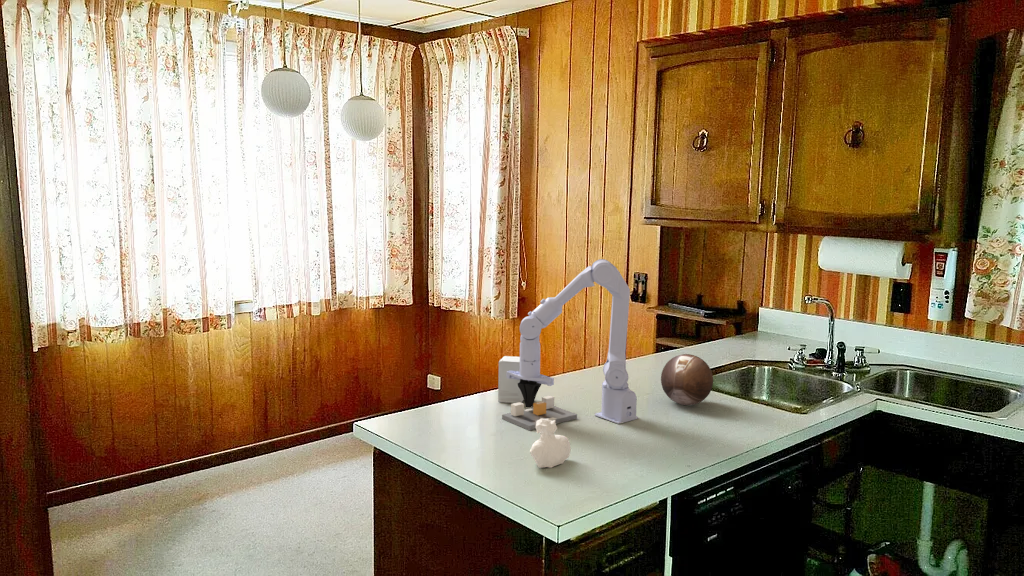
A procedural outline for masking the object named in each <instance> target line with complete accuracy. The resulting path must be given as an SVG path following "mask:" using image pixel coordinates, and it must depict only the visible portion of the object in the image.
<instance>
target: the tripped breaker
mask: <svg viewBox="0 0 1024 576" xmlns="http://www.w3.org/2000/svg"><path fill="white" fill-rule="evenodd" d="M532 408H533V414H535V415H542V414H546V403H545V402H542V400H541V401H536V402H534V403H533V407H532Z"/></svg>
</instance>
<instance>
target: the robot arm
mask: <svg viewBox="0 0 1024 576" xmlns="http://www.w3.org/2000/svg"><path fill="white" fill-rule="evenodd" d="M594 282H595V283H596V284H597V285H598V286H600V287H602V288H605V289H606V290H607V291H608V293H610V294H611V295H612V297H611V298H612V299H611V310H610V311H611V312H610V326H609V339H608V340H609V341H608V351H607V358H606V361H605V363H604V364H603V368H602V371H603V375H604V378H605V379H604V380H603V382H602V384H601V411H600V412H596V413H594V416H595V417H598V418H601V419H604V420H607V421H610V422H612V423H615V424H619V425H620V424H623V423H627V422H631V421H634V420H637V419H639V416H637V404H638V403H637V401H638V400H637V399H638V398H637V394H636V392H635V391H633V390H632V389H631V388H630V387H629V382H628V380H629V373H628V371H627V359H626V350H627V336H628V322H629V310H630V308H629V307H630V295H631V290H630V287H629V285H628V284H627V282H626V280H625V279H624V277H623V276H622V274H621V273H620V271H619V270H618V268H617V267H616V266H615V265H614V264H613V263H611V262H610V261H609V260H607V259H603V258H602V259H597V260H595V261H594V262H593V263H592V265H588V266H587V267H585V269H583V270H582V271H581V272H579V273H578V274H577V275H576V276H575V277H574V278H573V279H572V280H571V281H570V282H569V283H568V284H567V285H566V286H565V287H564V288H563V289H562V290H561V291H560V292H559V293H557V295H556V296H555V297H554V296H553V297H547V298H542V299H541V300H540V304H539V305H538V306H536V308H535V309H533V310H532V311H531V310H530V311H529V312H528V313H527V315H528V316H525V317H524V318H522V320H521V321H520V324H519V333H520V338H519V339H520V342H519V357H520V371H511V370H510V371H507V372H506V378H508V379H510V378H512V379H517V380H520V382H519V383H518V387H519V389H520V391H521V393H522V395H523V398H524V400H523V402H524V407H525V408H527V409H529V408H533V403H535V400H536V397H537V394H538V391H539V390H540V388H541V386H542V385H546V386H548V387H551V386H554V383H555V377H550V376H547V375H544V374H541V343H540V335H541V332H542V329H545V328H547V327H548V326H549V325H550V324H551V323H552V322H553V321H555V319H556V318H558V317H559V316H560V315H561V314H562V313H563V306H564V305H565V304H566V303H568V302H569V301H570V300H571V299H573V298H574V297H575V296H576V295H577V294H578V293H580V292H582V290H583V289H585V288H592V287H595V283H594Z"/></svg>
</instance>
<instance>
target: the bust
mask: <svg viewBox="0 0 1024 576" xmlns="http://www.w3.org/2000/svg"><path fill="white" fill-rule="evenodd" d="M555 421H556V420H553V421H551V420H549V418H548V419H543V418H541V419H539V420H537V421H536V427H535V428H536V429H535V430H536V434H539V433H540V434H539V435H540V436H539V438H538V439H537V440H535V441H534V443H532V445H531V447H530V450H529V454H530V455H531V457H532V459H533V460H534V461H535V463H536V466H537V467H538V468H541V469H542V468H550V469H551V468H553V467H556V466H558V465H563V464H564V463H565V461H566V460H567V459H569V457H570V454H571V449H572V448H571V443H570V441H569V438H568V437H567V436H565V435H561V434H555V433H556V430H558V426H557V424H556V423H555Z"/></svg>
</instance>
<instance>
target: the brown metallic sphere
mask: <svg viewBox="0 0 1024 576" xmlns="http://www.w3.org/2000/svg"><path fill="white" fill-rule="evenodd" d="M660 383H661V387H662V390H663V392H664V393H665V395H666V396H667V398H669V399H670V400H671V401H673V402H674V403H676V404H679V405H681V406H682V405H683V406H694V405H697V404H700V403H701V402H702V401H705V399H706V398H708V397H709V395H710V393H711V391H712V389H713V386H714V375H713V372H712V370H711V367H710V365H708V363H707V362H706V361H705V360H703V359H702V358H701V357H700V356H697V355H695V354H687V353H685V354H678V355H675V356H673V357H672V358H671V359H669V360H668V361H667V362H666V363H665V365H664V366H663V368H662V371H661V375H660Z"/></svg>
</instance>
